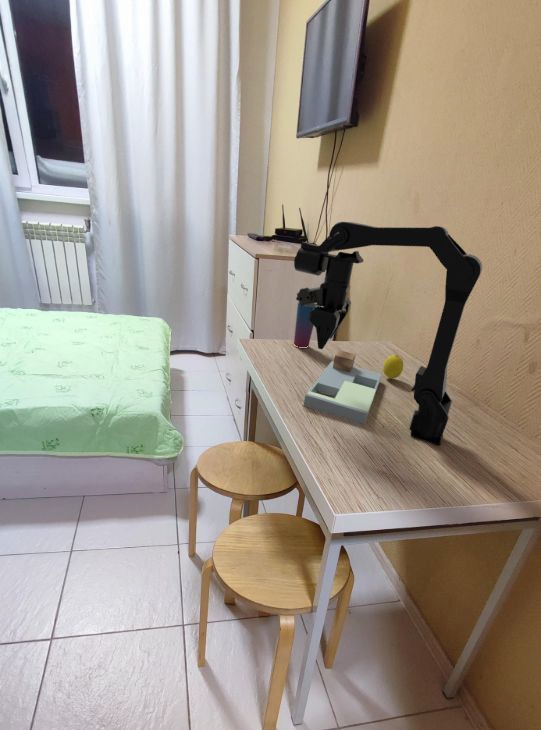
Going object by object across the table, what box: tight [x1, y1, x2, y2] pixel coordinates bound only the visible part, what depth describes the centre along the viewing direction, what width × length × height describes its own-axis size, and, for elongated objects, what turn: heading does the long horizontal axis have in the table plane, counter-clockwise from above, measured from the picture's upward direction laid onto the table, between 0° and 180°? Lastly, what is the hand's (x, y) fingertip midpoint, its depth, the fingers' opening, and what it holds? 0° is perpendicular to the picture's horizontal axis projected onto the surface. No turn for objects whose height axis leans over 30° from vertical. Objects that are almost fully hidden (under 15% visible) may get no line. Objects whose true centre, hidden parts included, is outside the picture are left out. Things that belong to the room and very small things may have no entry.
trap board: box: [303, 360, 382, 425], centre depth 101 cm, size 15×27×3 cm, turn 157°
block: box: [333, 349, 357, 373], centre depth 110 cm, size 5×5×4 cm
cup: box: [293, 301, 317, 347], centre depth 127 cm, size 7×7×15 cm
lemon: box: [382, 354, 404, 380], centre depth 112 cm, size 6×6×8 cm
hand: (324, 343), depth 93 cm, fingers open, 9 cm apart
